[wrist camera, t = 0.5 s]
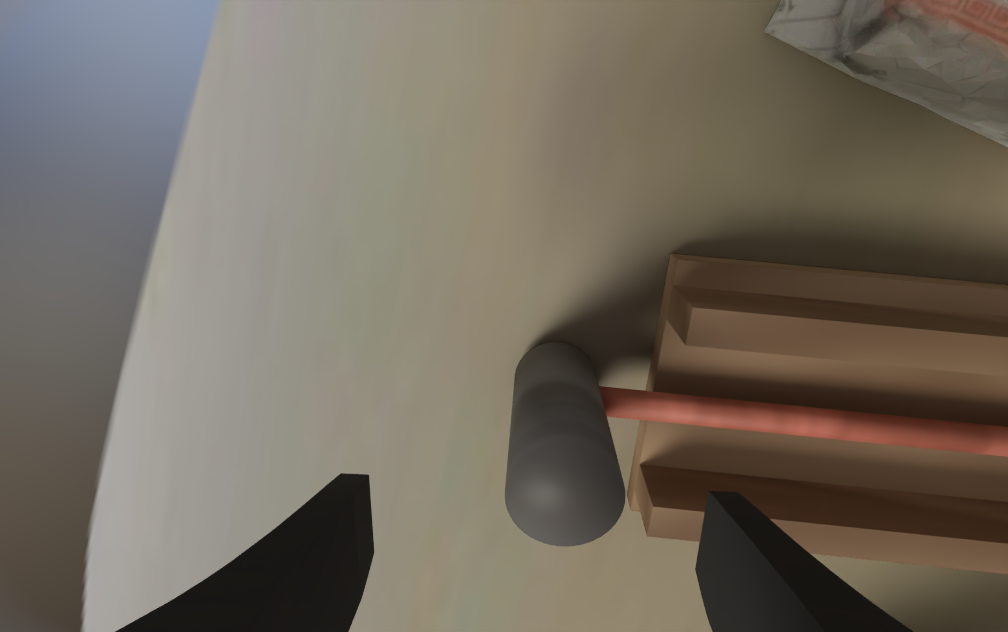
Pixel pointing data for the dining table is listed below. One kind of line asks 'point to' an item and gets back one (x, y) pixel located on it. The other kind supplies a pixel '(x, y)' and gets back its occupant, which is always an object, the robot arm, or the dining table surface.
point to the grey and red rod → (587, 438)
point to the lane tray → (831, 385)
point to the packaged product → (913, 51)
